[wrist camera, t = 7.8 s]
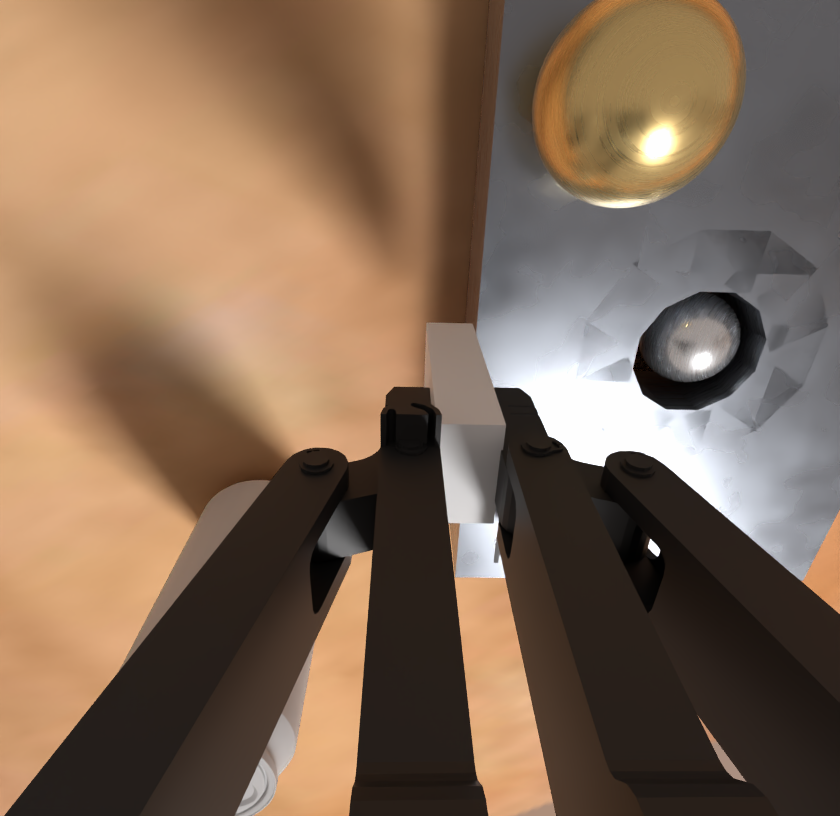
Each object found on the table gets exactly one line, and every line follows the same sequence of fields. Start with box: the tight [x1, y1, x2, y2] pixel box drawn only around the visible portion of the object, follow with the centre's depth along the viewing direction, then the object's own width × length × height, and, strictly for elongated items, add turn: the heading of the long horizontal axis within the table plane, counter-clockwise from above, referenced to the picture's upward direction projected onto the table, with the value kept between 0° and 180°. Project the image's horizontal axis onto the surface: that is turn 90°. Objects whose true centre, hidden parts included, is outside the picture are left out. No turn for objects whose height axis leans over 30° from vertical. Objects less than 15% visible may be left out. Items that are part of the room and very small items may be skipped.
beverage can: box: [119, 480, 315, 816], centre depth 21 cm, size 6×6×12 cm
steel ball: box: [639, 292, 741, 382], centre depth 20 cm, size 4×4×4 cm
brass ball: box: [532, 0, 746, 208], centre depth 13 cm, size 5×5×5 cm
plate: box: [450, 0, 840, 581], centre depth 20 cm, size 16×22×4 cm
